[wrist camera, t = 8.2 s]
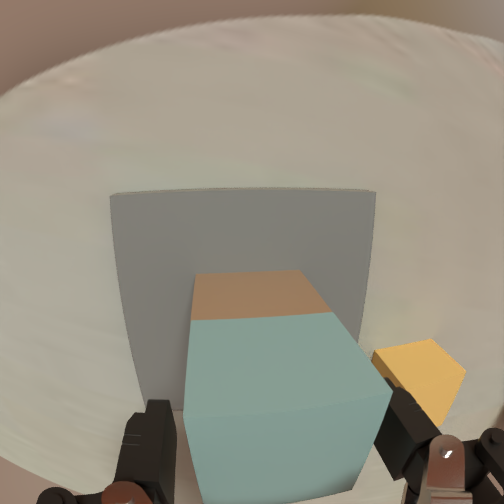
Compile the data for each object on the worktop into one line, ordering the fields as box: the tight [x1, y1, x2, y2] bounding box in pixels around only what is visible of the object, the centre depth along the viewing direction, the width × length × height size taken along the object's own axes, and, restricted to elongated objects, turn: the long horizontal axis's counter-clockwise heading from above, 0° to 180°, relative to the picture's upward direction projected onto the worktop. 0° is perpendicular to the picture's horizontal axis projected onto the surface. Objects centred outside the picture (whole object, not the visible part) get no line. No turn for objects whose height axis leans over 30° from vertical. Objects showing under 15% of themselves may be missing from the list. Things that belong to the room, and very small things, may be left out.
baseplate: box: [110, 188, 376, 410], centre depth 15 cm, size 14×14×6 cm
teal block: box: [183, 312, 393, 504], centre depth 10 cm, size 6×6×5 cm
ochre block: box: [372, 339, 466, 427], centre depth 20 cm, size 6×6×5 cm
